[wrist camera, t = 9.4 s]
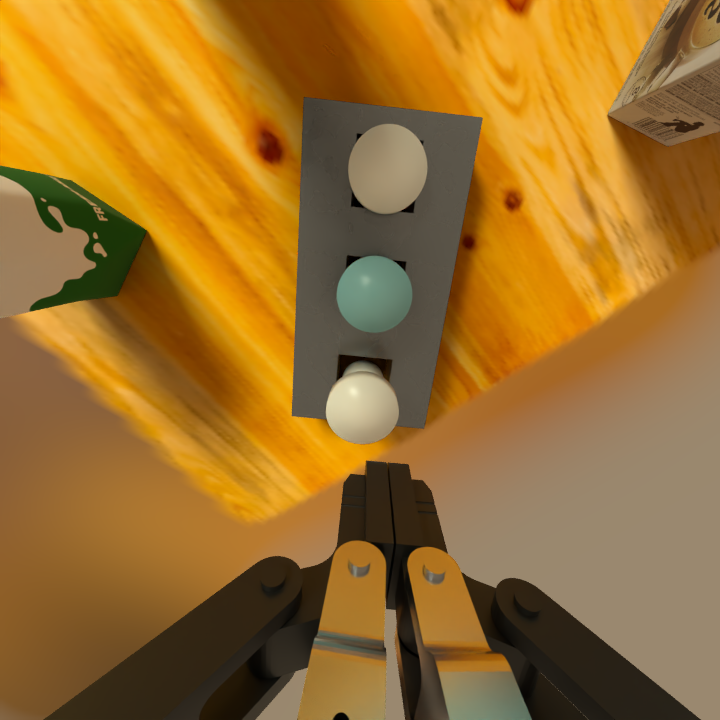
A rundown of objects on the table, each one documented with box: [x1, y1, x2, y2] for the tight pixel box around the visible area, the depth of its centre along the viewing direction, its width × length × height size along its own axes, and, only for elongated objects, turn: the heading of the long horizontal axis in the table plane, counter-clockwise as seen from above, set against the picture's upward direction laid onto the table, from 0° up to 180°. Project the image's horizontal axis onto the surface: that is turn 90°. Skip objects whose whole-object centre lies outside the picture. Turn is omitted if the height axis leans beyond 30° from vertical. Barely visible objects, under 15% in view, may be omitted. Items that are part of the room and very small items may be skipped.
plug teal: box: [337, 255, 412, 333], centre depth 26 cm, size 5×5×6 cm
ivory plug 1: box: [348, 124, 427, 214], centre depth 25 cm, size 5×5×6 cm
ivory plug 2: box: [326, 360, 399, 444], centre depth 27 cm, size 5×5×6 cm
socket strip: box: [292, 97, 483, 429], centre depth 29 cm, size 24×12×5 cm, turn 174°
